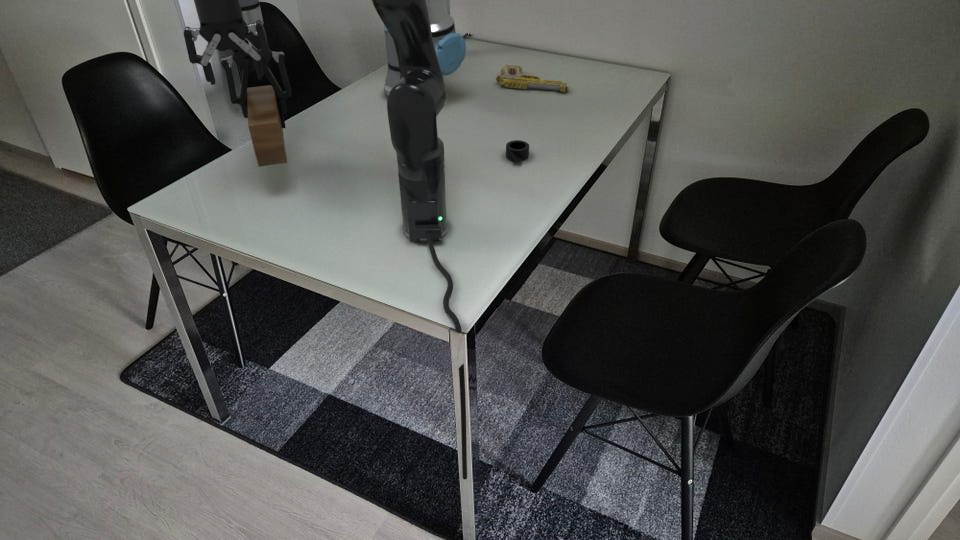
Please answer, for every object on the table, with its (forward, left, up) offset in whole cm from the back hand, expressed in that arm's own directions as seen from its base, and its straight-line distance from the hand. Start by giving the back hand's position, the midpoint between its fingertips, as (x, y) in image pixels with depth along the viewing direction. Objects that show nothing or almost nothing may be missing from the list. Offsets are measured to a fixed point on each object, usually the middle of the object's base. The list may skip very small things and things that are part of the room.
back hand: (269, 127), depth 149 cm
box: (+5, +6, -1) cm, 7 cm away
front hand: (+15, +14, +19) cm, 28 cm away
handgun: (-82, +25, -10) cm, 86 cm away
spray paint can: (-86, -14, -10) cm, 88 cm away
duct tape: (-37, +47, -10) cm, 60 cm away
